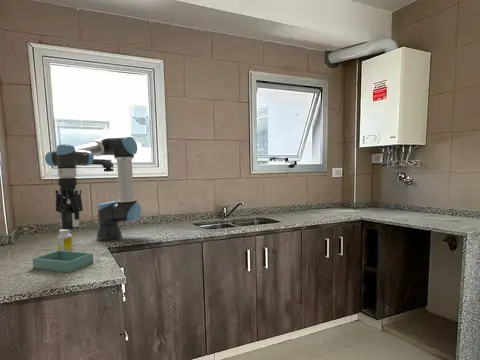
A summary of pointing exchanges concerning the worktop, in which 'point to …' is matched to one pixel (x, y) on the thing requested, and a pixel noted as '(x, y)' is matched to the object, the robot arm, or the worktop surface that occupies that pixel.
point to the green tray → (63, 261)
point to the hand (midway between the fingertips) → (69, 226)
